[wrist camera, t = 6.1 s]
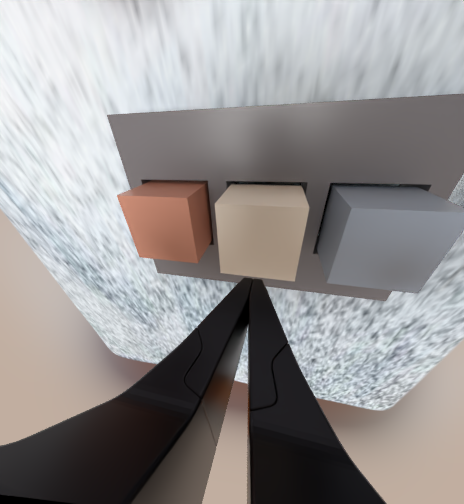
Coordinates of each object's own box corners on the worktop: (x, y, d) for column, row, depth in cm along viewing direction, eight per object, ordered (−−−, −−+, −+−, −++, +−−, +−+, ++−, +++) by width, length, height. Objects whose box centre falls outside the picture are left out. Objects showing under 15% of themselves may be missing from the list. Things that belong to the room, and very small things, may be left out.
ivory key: (301, 185, 13) (309, 207, 10) (291, 246, 16) (294, 281, 12) (231, 183, 14) (214, 203, 10) (233, 241, 17) (220, 273, 13)
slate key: (417, 186, 12) (475, 213, 8) (384, 252, 15) (417, 293, 11) (332, 185, 13) (351, 208, 9) (316, 247, 16) (326, 283, 12)
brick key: (209, 180, 15) (187, 198, 12) (214, 235, 18) (197, 263, 14) (153, 179, 16) (116, 195, 12) (166, 232, 19) (139, 257, 15)
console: (462, 98, 11) (513, 90, 9) (372, 278, 19) (385, 301, 16) (134, 116, 15) (106, 115, 13) (170, 257, 23) (157, 272, 21)
